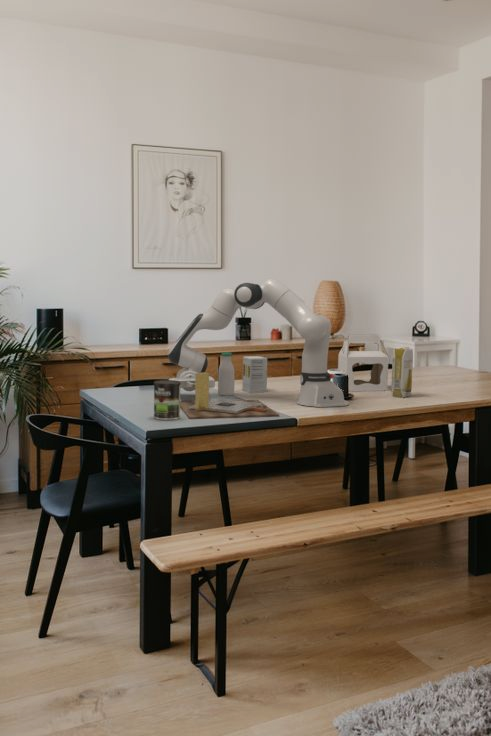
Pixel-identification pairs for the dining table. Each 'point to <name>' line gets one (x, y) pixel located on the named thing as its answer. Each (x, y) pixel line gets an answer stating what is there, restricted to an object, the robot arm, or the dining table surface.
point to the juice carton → (402, 372)
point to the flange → (215, 404)
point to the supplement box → (254, 374)
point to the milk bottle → (226, 375)
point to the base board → (214, 414)
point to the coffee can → (167, 399)
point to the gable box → (368, 357)
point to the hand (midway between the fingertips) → (194, 385)
